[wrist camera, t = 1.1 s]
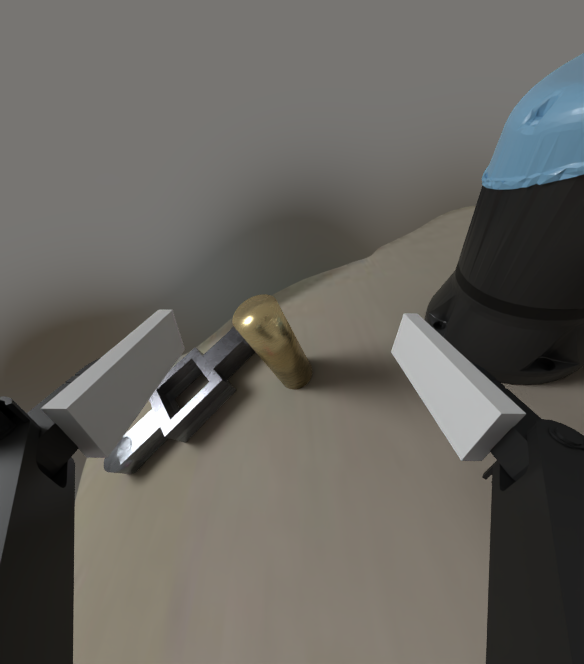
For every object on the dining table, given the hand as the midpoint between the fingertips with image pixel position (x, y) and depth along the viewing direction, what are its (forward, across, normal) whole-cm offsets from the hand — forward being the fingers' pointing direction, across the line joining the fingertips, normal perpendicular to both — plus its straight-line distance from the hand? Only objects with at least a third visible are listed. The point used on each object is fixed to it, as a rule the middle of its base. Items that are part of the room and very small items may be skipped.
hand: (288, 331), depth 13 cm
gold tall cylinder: (+13, +1, -16) cm, 20 cm away
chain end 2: (+16, -12, -19) cm, 28 cm away
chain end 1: (+11, -18, -23) cm, 31 cm away
